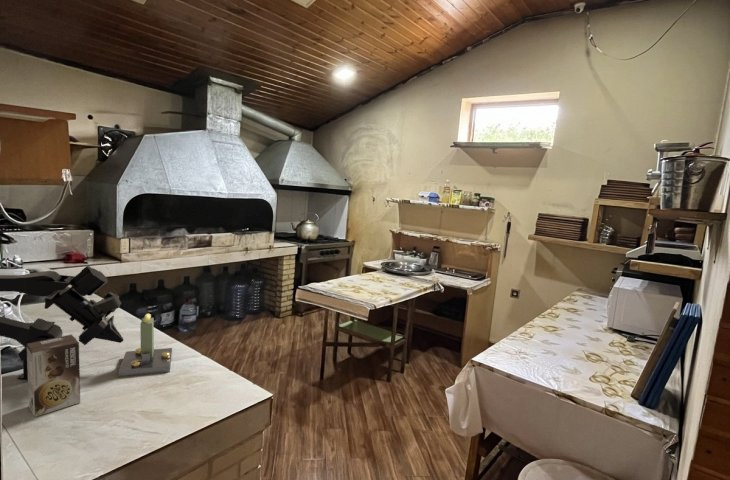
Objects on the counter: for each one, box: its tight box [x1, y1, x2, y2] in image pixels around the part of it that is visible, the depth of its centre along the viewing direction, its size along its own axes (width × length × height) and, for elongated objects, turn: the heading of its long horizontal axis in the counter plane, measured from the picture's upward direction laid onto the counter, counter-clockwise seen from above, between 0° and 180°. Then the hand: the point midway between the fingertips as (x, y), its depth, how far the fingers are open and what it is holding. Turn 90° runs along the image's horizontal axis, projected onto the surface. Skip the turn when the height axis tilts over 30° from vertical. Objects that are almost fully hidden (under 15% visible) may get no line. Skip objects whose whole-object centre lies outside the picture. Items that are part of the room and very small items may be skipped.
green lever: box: [139, 313, 155, 359], centre depth 117 cm, size 3×5×13 cm, turn 24°
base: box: [118, 347, 173, 378], centre depth 118 cm, size 13×13×5 cm
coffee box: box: [27, 334, 81, 418], centre depth 94 cm, size 9×6×16 cm
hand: (122, 341), depth 115 cm, fingers closed
